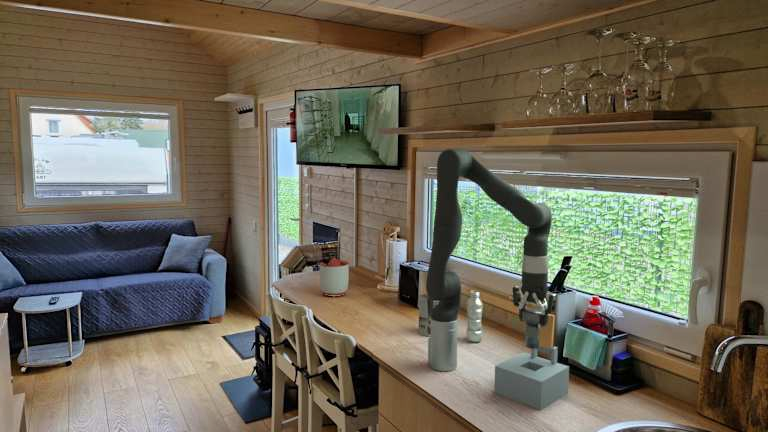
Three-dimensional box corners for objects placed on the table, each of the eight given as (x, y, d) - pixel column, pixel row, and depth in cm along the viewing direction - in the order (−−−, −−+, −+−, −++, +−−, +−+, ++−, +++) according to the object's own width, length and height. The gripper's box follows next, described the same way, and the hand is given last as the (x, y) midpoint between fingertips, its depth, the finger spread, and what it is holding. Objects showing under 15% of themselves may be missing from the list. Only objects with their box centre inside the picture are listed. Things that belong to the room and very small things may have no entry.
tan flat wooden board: (538, 312, 168) (541, 312, 169) (535, 349, 169) (538, 348, 170) (553, 316, 164) (555, 315, 165) (550, 353, 165) (552, 352, 166)
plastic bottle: (470, 344, 205) (471, 294, 203) (463, 338, 212) (463, 290, 209) (485, 343, 207) (486, 293, 205) (477, 337, 213) (478, 288, 211)
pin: (517, 346, 162) (518, 311, 161) (528, 341, 167) (529, 307, 166) (536, 351, 158) (537, 315, 157) (547, 346, 162) (548, 311, 161)
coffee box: (429, 337, 214) (429, 298, 212) (418, 333, 219) (418, 295, 217) (444, 332, 219) (445, 294, 217) (433, 328, 224) (434, 291, 222)
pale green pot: (336, 288, 291) (335, 252, 289) (355, 295, 278) (354, 257, 275) (311, 293, 281) (311, 256, 279) (330, 300, 268) (330, 261, 265)
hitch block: (494, 392, 164) (495, 350, 163) (522, 377, 175) (523, 337, 174) (540, 410, 153) (542, 365, 151) (568, 392, 164) (569, 350, 162)
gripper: (507, 267, 162) (506, 320, 164) (550, 275, 152) (548, 331, 154) (520, 264, 167) (519, 315, 169) (563, 271, 157) (561, 326, 159)
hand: (533, 323), depth 161 cm, fingers closed on pin, 6 cm apart
